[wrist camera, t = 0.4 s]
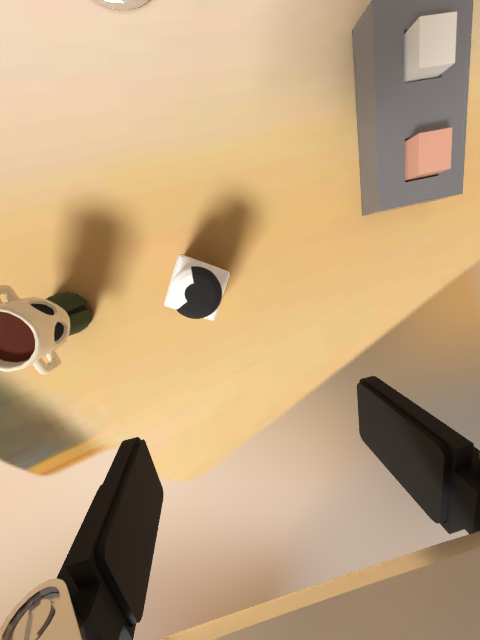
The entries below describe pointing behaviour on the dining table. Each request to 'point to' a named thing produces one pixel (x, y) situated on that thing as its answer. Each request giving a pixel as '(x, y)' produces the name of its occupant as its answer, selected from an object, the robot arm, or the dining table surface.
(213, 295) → the medicine bottle
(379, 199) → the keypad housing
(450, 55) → the ivory key
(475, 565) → the robot arm
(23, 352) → the character mug
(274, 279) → the dining table surface
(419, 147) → the terracotta key
